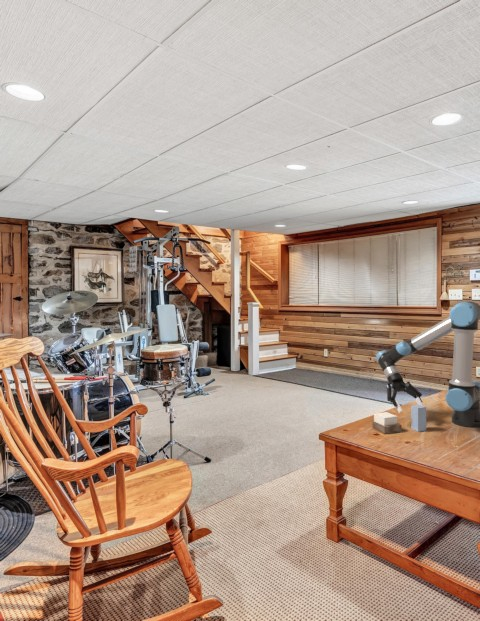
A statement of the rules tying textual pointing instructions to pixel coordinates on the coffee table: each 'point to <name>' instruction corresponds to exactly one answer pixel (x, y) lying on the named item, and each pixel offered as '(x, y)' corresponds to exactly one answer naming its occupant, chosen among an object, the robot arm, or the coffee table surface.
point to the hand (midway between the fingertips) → (412, 410)
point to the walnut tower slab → (387, 428)
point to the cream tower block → (385, 418)
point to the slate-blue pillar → (418, 418)
